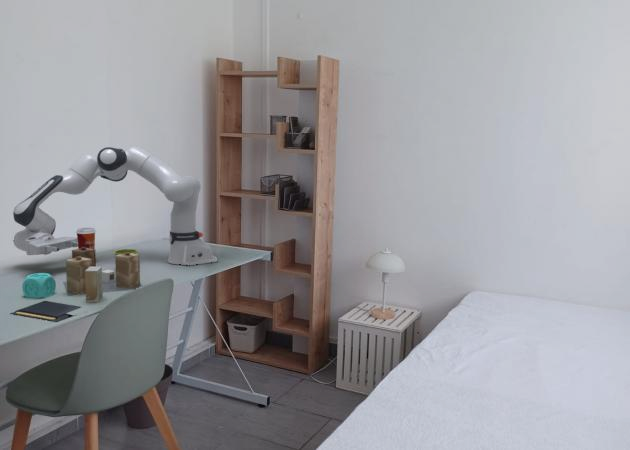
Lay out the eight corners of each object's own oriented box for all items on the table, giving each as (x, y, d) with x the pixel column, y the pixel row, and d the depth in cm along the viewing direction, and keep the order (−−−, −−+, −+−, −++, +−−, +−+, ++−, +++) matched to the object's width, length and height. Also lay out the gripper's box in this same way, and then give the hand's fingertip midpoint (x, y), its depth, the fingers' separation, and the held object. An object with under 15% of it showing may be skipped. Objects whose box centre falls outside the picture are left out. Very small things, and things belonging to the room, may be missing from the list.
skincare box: (90, 299, 216) (89, 266, 214) (103, 299, 216) (102, 266, 214) (85, 304, 210) (84, 270, 208) (98, 304, 210) (97, 270, 208)
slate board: (134, 278, 246) (134, 275, 246) (144, 290, 228) (144, 288, 228) (63, 284, 234) (62, 282, 233) (68, 298, 216) (68, 295, 216)
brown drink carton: (85, 276, 246) (84, 245, 244) (96, 278, 244) (95, 246, 241) (73, 279, 241) (71, 247, 239) (84, 281, 238) (82, 249, 236)
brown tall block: (128, 282, 235) (127, 250, 233) (140, 284, 232) (139, 252, 230) (116, 286, 230) (115, 252, 228) (128, 288, 227) (127, 254, 225)
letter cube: (108, 279, 239) (108, 269, 238) (115, 280, 237) (115, 271, 236) (100, 281, 235) (100, 271, 235) (108, 283, 234) (107, 273, 233)
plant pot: (128, 275, 250) (128, 254, 249) (109, 272, 254) (109, 252, 252) (142, 270, 259) (142, 250, 258) (124, 267, 262) (123, 248, 261)
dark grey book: (89, 306, 204) (55, 319, 190) (89, 311, 205) (55, 324, 191) (44, 298, 212) (8, 310, 198) (45, 303, 212) (8, 315, 198)
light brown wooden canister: (80, 288, 226) (79, 254, 224) (92, 290, 223) (91, 256, 221) (67, 291, 221) (65, 257, 218) (79, 294, 218) (77, 259, 215)
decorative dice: (37, 293, 221) (36, 272, 220) (56, 295, 220) (55, 273, 218) (22, 299, 214) (21, 277, 212) (42, 301, 212) (41, 279, 211)
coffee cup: (90, 264, 266) (89, 231, 263) (73, 263, 267) (71, 229, 265) (100, 260, 274) (99, 228, 271) (84, 259, 275) (82, 226, 273)
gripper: (65, 246, 260) (88, 250, 254) (23, 255, 243) (46, 259, 236) (64, 232, 259) (87, 235, 253) (22, 240, 242) (45, 244, 235)
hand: (67, 247), depth 245 cm, fingers open, 8 cm apart
